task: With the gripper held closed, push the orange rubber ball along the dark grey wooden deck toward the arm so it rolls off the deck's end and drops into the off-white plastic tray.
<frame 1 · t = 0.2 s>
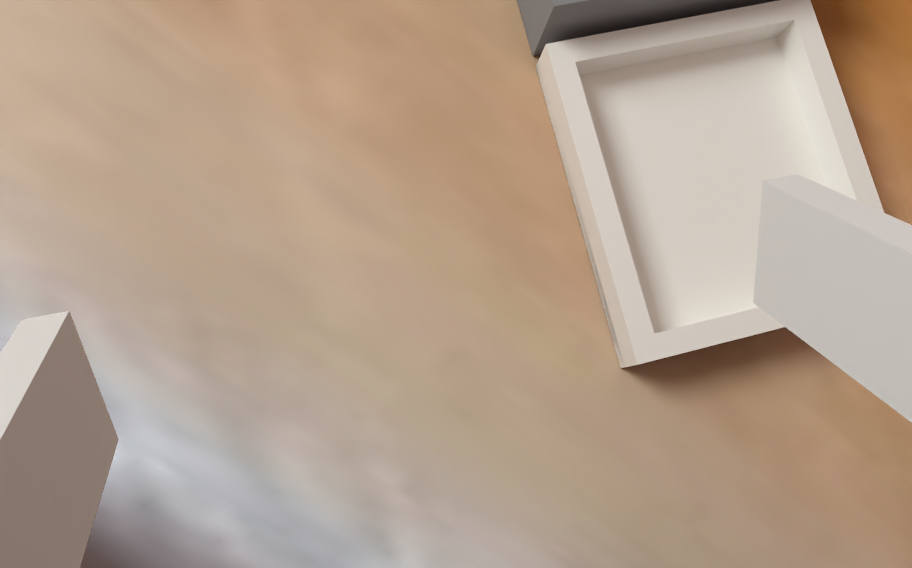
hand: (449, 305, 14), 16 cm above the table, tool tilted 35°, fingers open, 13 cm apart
tray: (707, 183, 32), on the table
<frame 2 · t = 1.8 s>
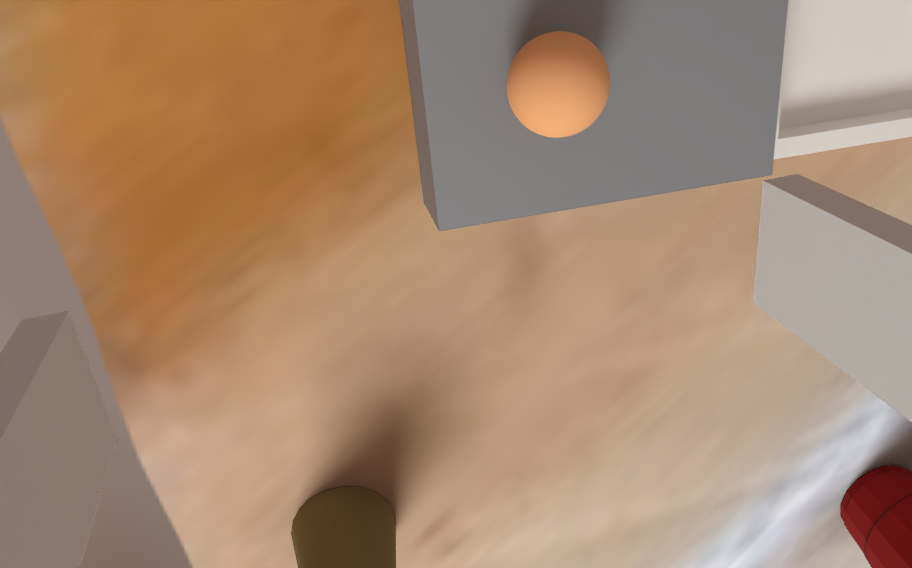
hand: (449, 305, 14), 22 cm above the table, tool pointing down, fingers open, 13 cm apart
cork: (343, 525, 44), on the table
plastic cup: (871, 496, 52), on the table
deck: (577, 54, 35), on the table
tray: (869, 13, 37), on the table
ball: (557, 85, 29), point 6 cm above the table, touching deck
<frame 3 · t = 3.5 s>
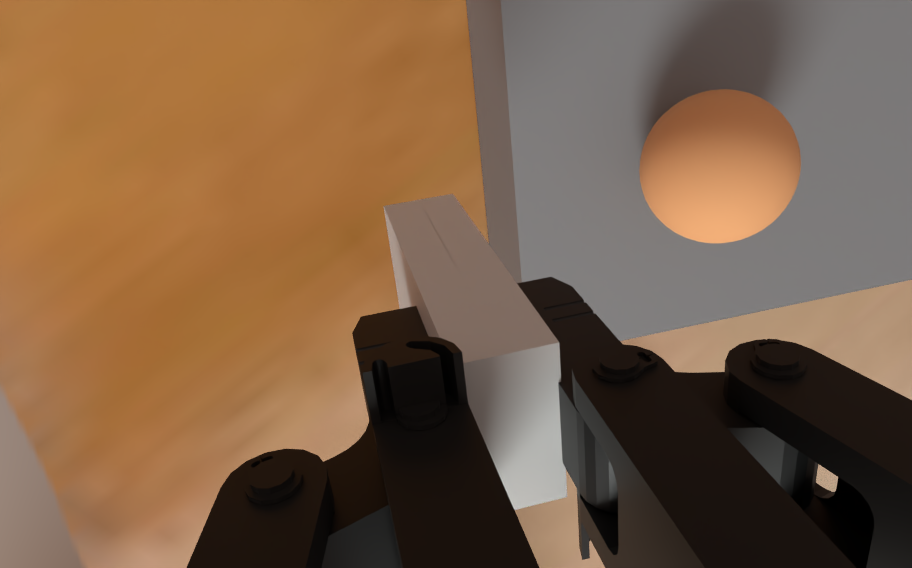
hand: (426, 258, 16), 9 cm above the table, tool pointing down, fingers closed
deck: (706, 105, 25), on the table
ball: (717, 167, 20), point 6 cm above the table, touching deck
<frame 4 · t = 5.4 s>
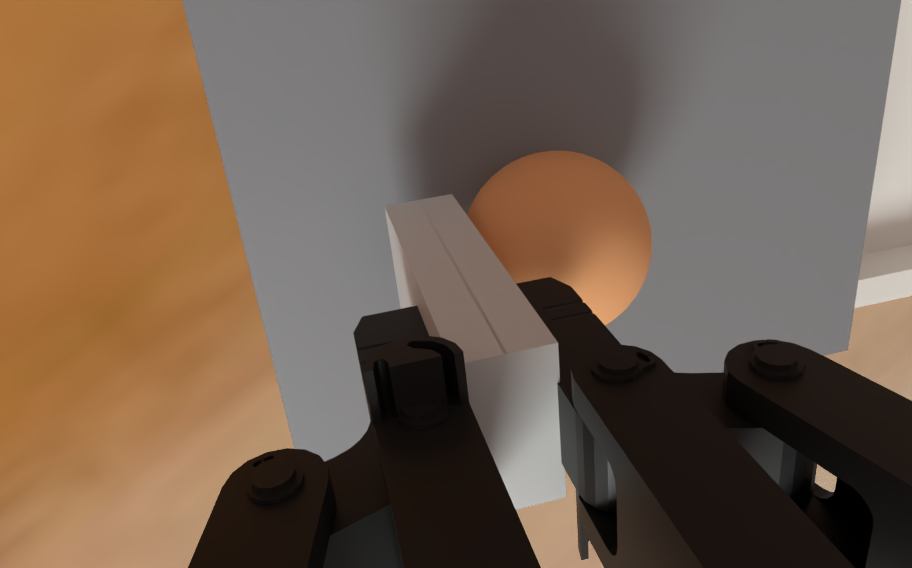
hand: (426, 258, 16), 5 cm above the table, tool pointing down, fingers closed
deck: (533, 160, 21), on the table
ball: (555, 245, 16), point 6 cm above the table, tilted 38°, touching deck, gripper
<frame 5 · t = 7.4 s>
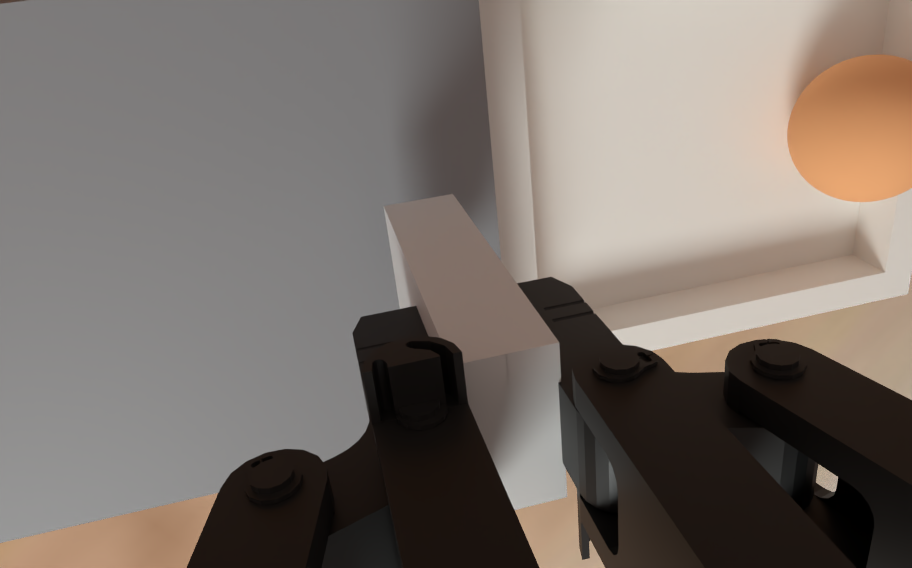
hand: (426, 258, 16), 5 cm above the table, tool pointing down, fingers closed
deck: (171, 223, 20), on the table
tray: (693, 132, 22), on the table
ball: (866, 129, 21), point 3 cm above the table, tilted 104°
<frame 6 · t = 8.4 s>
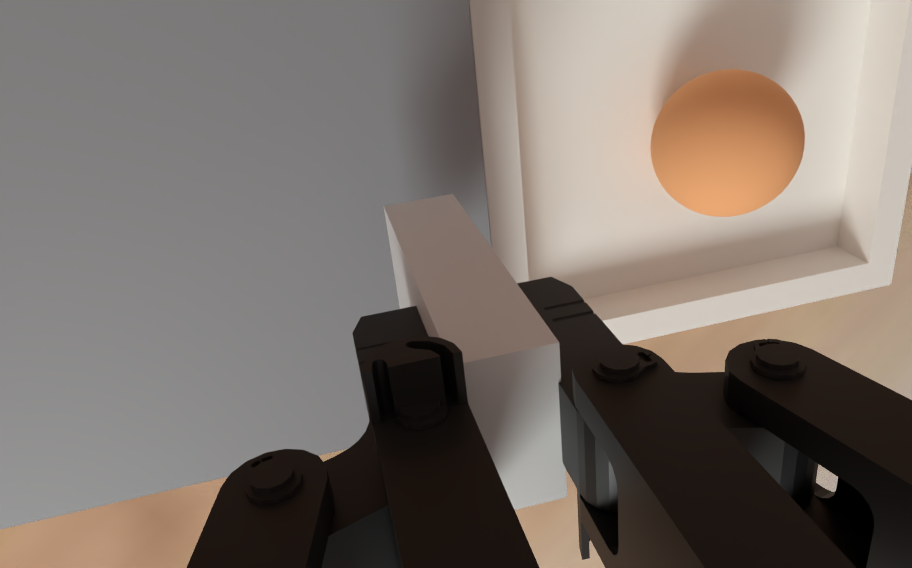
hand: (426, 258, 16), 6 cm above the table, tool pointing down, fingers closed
deck: (168, 215, 20), on the table
tray: (680, 126, 23), on the table
ball: (725, 144, 21), point 2 cm above the table, tilted 147°, touching tray
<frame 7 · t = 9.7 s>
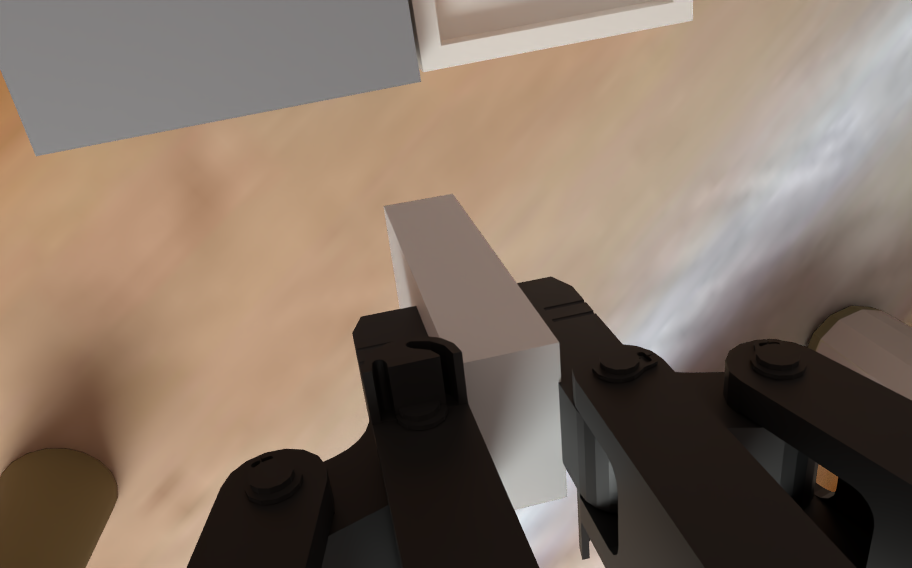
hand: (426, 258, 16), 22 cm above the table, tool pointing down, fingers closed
cork: (59, 490, 41), on the table
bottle: (838, 341, 50), on the table
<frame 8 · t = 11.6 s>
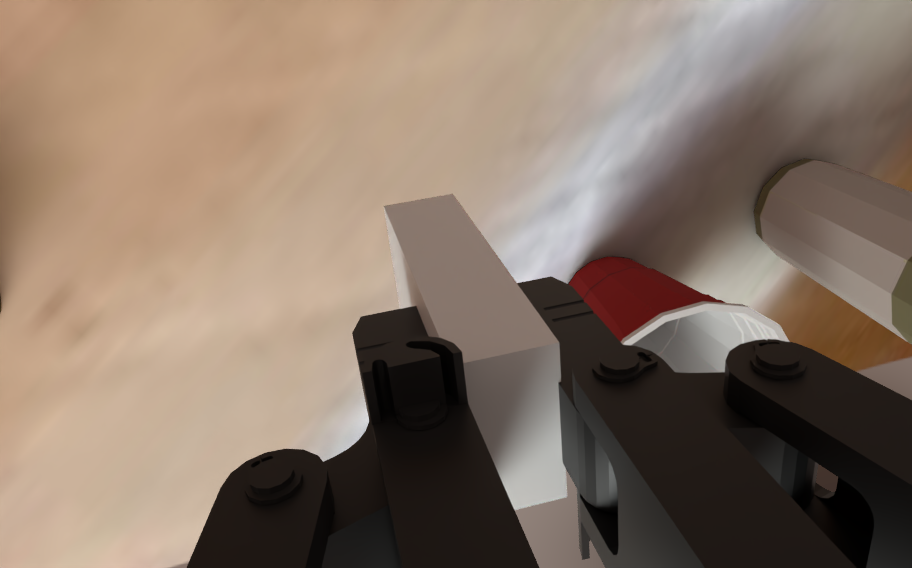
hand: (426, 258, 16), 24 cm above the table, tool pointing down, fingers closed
plastic cup: (600, 297, 47), on the table
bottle: (790, 202, 47), on the table
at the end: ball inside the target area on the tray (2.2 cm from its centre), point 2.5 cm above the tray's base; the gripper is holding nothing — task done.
